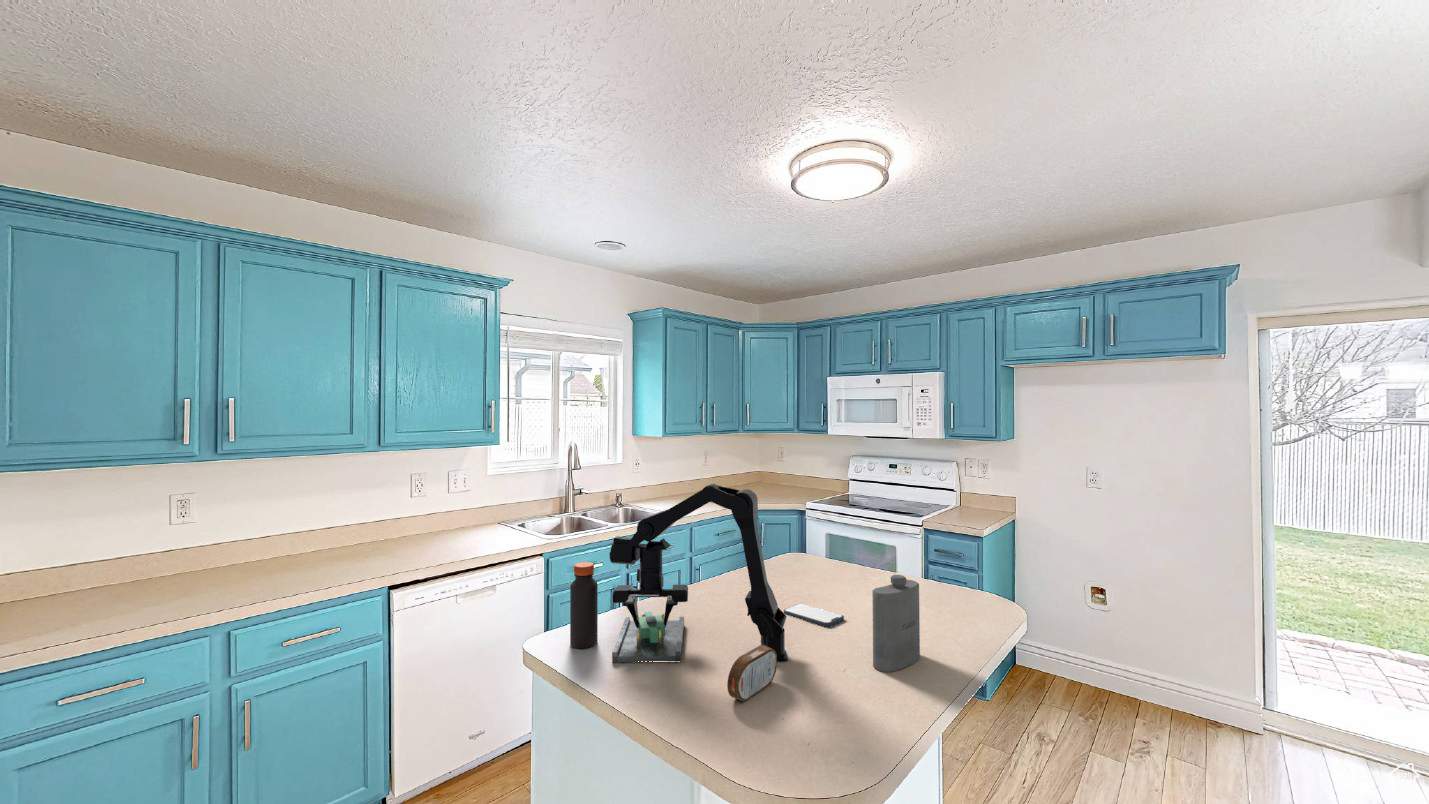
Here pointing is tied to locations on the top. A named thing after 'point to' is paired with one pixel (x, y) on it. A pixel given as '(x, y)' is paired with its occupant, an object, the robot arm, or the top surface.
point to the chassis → (649, 643)
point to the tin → (752, 672)
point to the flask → (896, 625)
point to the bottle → (583, 607)
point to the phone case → (814, 615)
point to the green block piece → (651, 626)
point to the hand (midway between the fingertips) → (651, 627)
